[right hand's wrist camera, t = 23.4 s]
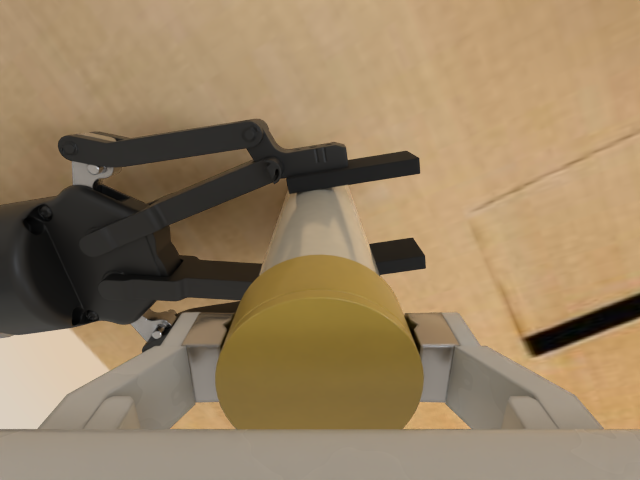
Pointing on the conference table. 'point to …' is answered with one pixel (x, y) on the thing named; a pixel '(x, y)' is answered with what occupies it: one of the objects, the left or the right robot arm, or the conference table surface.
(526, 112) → the conference table surface
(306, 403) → the lid
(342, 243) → the white bottle
